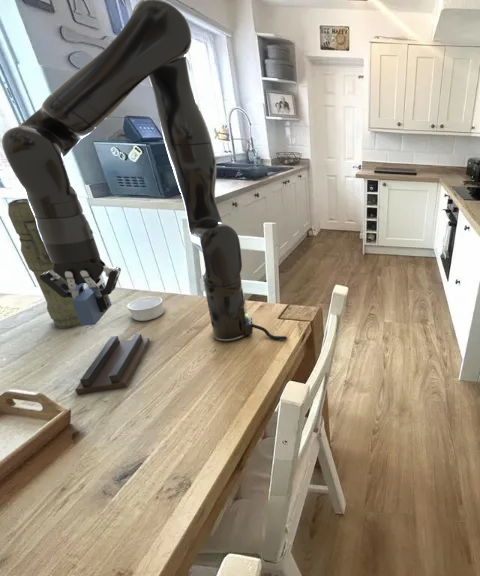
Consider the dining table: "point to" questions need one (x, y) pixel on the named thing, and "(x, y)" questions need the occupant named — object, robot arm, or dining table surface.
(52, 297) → the olive green tall column
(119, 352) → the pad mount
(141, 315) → the ramekin
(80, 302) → the back pad
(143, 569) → the dining table surface
